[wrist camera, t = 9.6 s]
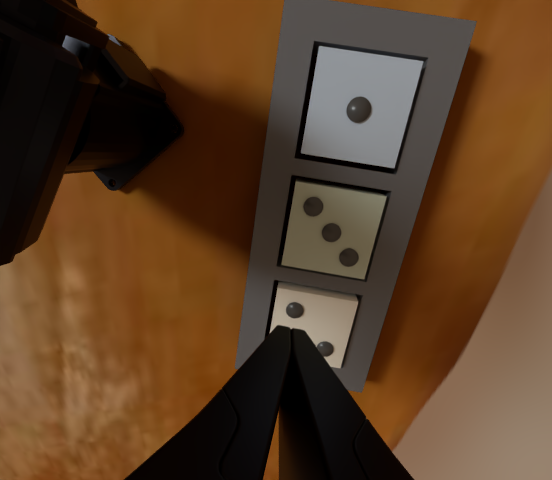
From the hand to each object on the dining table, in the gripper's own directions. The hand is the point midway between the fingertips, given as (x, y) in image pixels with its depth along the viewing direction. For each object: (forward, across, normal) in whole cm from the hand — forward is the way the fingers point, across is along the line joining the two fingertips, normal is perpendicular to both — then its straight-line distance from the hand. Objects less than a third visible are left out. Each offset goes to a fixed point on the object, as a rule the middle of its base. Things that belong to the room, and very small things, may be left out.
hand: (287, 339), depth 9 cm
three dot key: (+11, -2, -1) cm, 11 cm away
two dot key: (+11, -2, +5) cm, 12 cm away
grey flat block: (+11, -2, -1) cm, 11 cm away
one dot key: (+11, -2, -8) cm, 14 cm away
